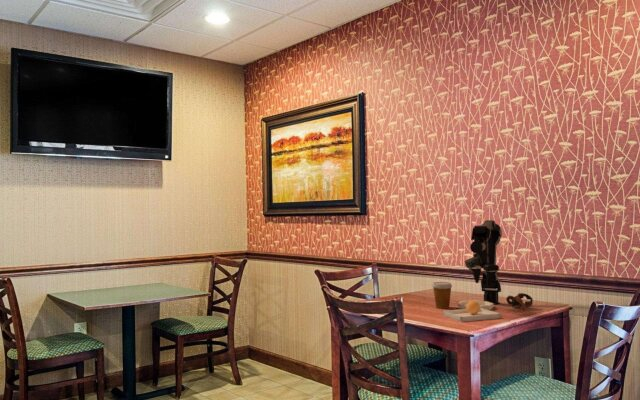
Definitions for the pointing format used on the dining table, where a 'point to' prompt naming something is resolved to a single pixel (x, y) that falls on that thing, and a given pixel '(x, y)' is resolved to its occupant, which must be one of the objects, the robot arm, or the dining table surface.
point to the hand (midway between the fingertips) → (482, 284)
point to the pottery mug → (520, 301)
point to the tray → (471, 315)
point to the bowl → (482, 304)
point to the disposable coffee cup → (442, 294)
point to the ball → (473, 307)
